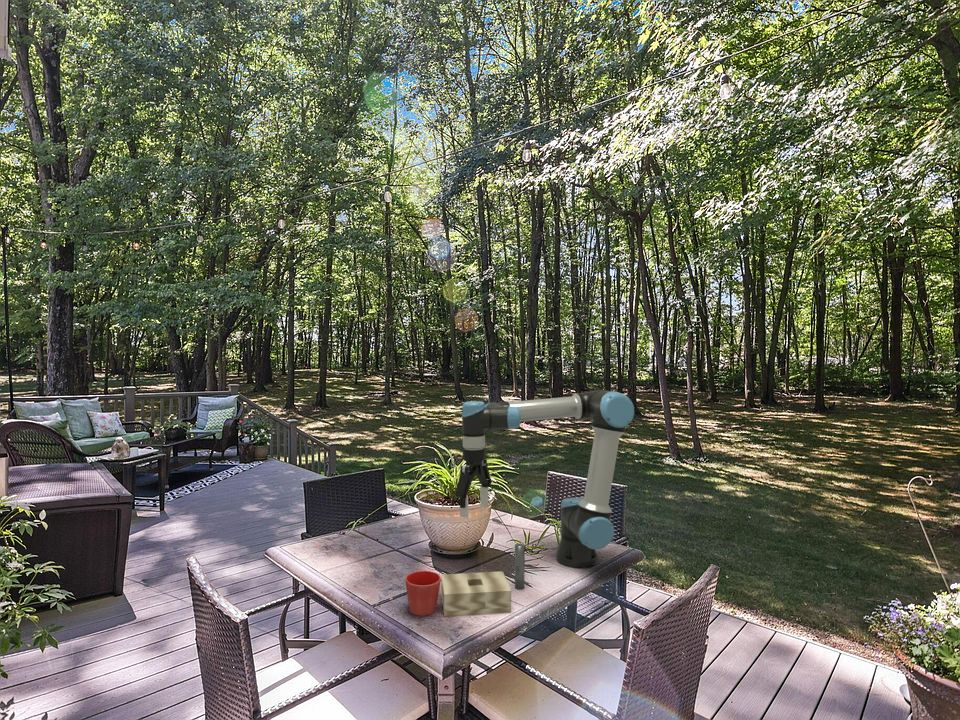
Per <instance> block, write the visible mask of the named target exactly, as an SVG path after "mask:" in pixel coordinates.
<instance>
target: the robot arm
mask: <svg viewBox="0 0 960 720" xmlns="http://www.w3.org/2000/svg"><path fill="white" fill-rule="evenodd" d="M461 410H462V411H461V413H462V414H461V420H462V421H461V423H462V425H461V426H462V447H463V448H462V460H463V461H465V462H466V463H465V465H461V466H460V467H459V468H460V471H459V477H458V481H457V485H456V490H455V494H454V495H455V497H456V498H458V499H459V517H460V518H463V519H464V518H465V519H468V518H469V497H468V493H469V490H470V488H471V485H472V482H473V480H474V479H475V477H477V480H478V482H479V483H480V485H481V486H480V488H479V489H480V490H479V491H480V495H479V497H480V498H479V499H480V506H481V507H486V508H487V507H489V488H491V487H492V482H493V481H492V477H491V473H490V470H489V466H488V459H486V449H485V447H486V430H487V431H489V430H512V429H513V430H514V429H518V428H519V427H520V426H521V422H530V421H542V420H554V419H564V418H575V419H576V420H592V421H591V428H592V429H593V431H594V436H593V441H592V448H591V453H590V460H589V466H588V471H587V472H588V473H587V477H586V483H585V488H584V495H583V497H567V498H564V499H562V500H561V505H560V541H559V543H558V545H557V550H556V552H555V559H556V561H557V563H559V564H561V565H563V566H565V565H566V567H569V566H572V567H571V568H575V567H586V566H590V565H593V564H595V563H596V562H597V563H598V554H597V551H596V550H601V549H603V548H605V547H606V546H607V547H608V545H610V543H611V542H612V540H613V538H614V535H615V528H614V525H613V523H612V521H611V519H612V513H613V510H612V508H611V507H610V506H609V505H610V504H609V503H610V497H611V491H612V486H613V478H614V473H615V469H616V462H617V456H618V450H619V449H618V448H619V443H620V438H621V437H622V436H623V435H624V434H626V431H627V430H626V429H627V426H628V425H629V424H631V422H632V420H633V419H634V416H635V406H634V403H633V401H632V400H631V398H629V397H628V395H625V394H624V393H621V392H618V391H613V390H606V389H598V390H595V389H594V390H591V391H585V392H577V393H573V394H572V396H563V397H551V398H539V399H529V400H518V401H517V400H516V401H505V402H495V401H493V402H491V401H490V402H488V403H486V404H485V402H484V401H475V400H474V401H473V400H472V401H465V402H464V403H463V404H462V409H461ZM597 563H596V564H597ZM596 564H595V565H596ZM586 568H587V567H586Z"/></svg>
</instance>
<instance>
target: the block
mask: <svg viewBox="0 0 960 720" xmlns="http://www.w3.org/2000/svg"><path fill="white" fill-rule="evenodd" d="M440 577H441V582H440V591H441V592H440V597H441V602H442V612H443V617H455V616H456V617H457V616H458V617H459V616H471V615H472V616H473V615H474V616H475V615H489V614H492V615H493V614H506V613H511V612H512V589H511V587H510V585H509V583H508V581H507V580H508V579H507V577H506V576H505V574H504V571H503V570H502V571H485V572H467V573H466V572H465V573H464V572H463V573H447V574H443V573H442V574H440Z"/></svg>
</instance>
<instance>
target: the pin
mask: <svg viewBox="0 0 960 720" xmlns="http://www.w3.org/2000/svg"><path fill="white" fill-rule="evenodd" d="M525 550H526V547H525V543H524V544H523V543H515V544H514V589H516V590H524V589H525V572H526V571H525V561H526V560H525V559H526V558H525V557H526V556H525V553H526V552H525Z"/></svg>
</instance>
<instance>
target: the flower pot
mask: <svg viewBox="0 0 960 720" xmlns="http://www.w3.org/2000/svg"><path fill="white" fill-rule="evenodd" d="M404 580H405V587H406V595H407V601H408V607H409V612H410V613H411V614H412V615H415V616H429V615H432V614H433V613H435V612H436V608H437V604H438V598H439V593H440V589H441V574H439V573H437V572H435V571H430V570H417V571H413V572H410V573H409V574H407V575H406V576H405V579H404Z"/></svg>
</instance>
